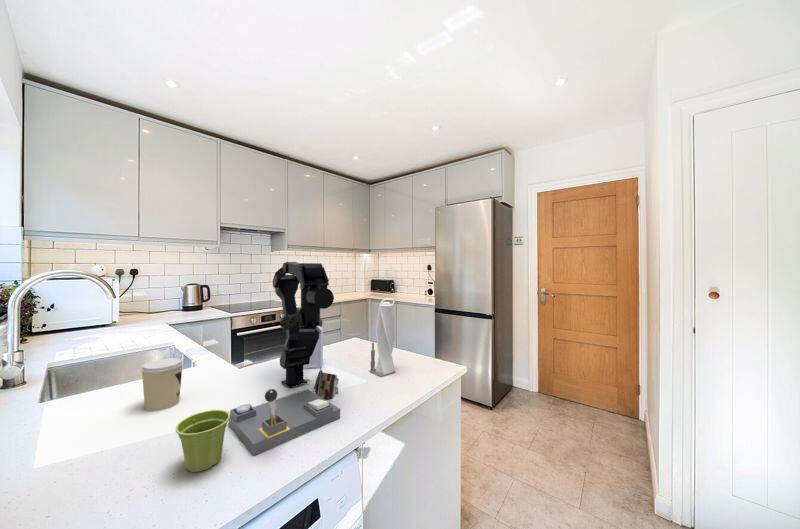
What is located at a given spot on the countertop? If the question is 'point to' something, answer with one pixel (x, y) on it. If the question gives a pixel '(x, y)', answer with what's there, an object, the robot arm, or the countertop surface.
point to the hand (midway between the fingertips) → (310, 355)
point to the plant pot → (202, 438)
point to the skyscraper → (384, 340)
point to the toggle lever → (272, 405)
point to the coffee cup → (162, 383)
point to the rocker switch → (318, 404)
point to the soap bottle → (316, 354)
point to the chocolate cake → (326, 385)
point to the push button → (243, 409)
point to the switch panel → (280, 421)
